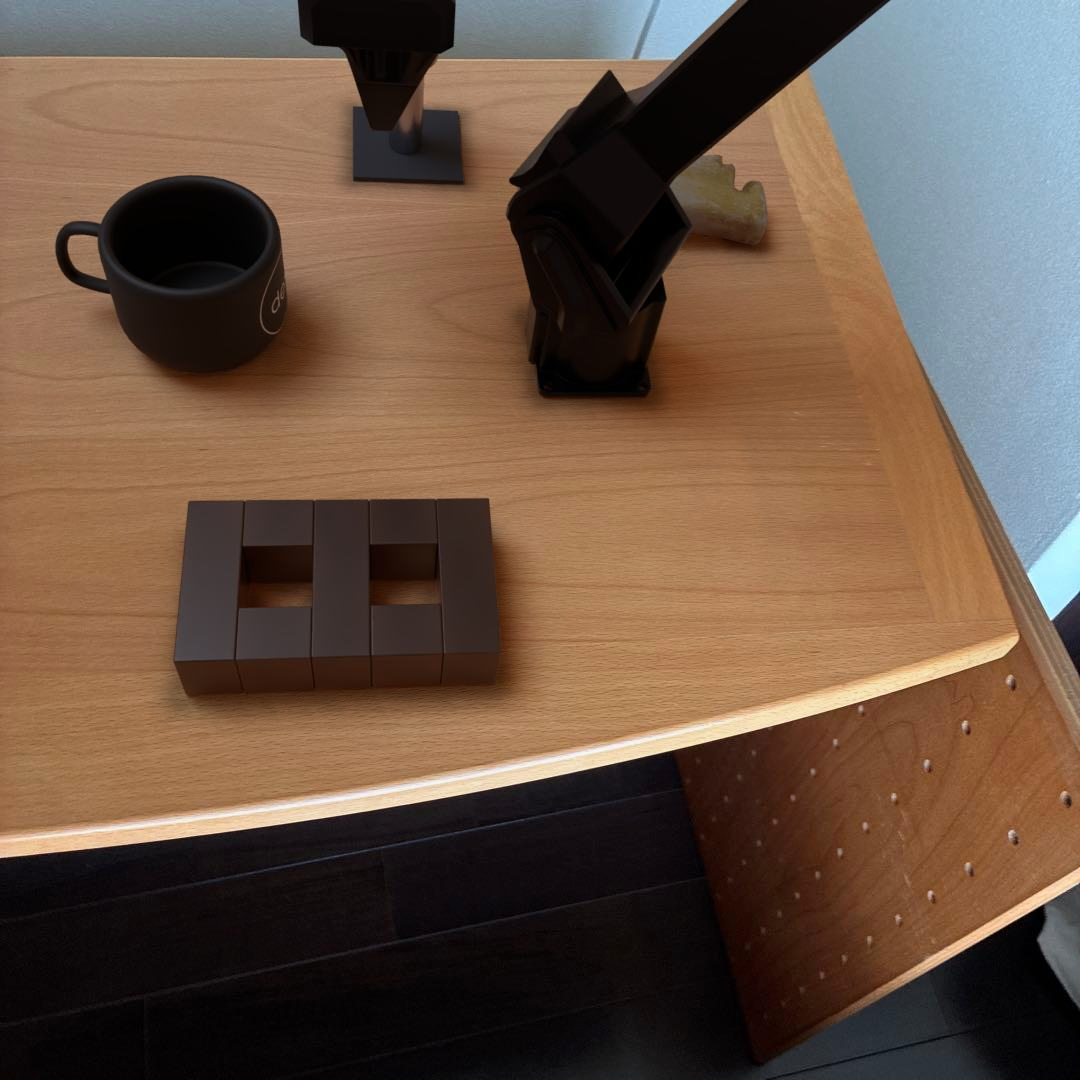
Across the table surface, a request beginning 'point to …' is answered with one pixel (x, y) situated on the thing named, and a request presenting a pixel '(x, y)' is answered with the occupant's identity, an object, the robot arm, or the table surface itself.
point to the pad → (427, 165)
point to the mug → (189, 271)
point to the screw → (410, 124)
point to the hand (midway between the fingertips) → (383, 70)
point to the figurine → (721, 201)
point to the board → (336, 595)
